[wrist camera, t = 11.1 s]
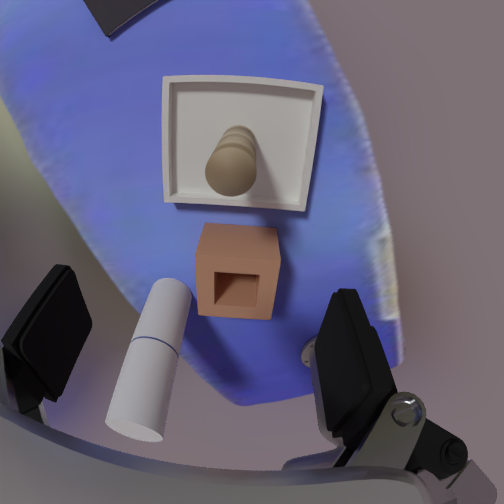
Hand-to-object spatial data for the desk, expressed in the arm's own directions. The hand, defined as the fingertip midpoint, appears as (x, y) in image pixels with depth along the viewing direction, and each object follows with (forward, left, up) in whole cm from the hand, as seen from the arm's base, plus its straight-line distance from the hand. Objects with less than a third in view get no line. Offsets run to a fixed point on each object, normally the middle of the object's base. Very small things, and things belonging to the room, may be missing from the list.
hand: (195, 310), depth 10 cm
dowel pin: (0, 0, -27) cm, 27 cm away
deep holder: (-17, -1, -28) cm, 33 cm away
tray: (0, 0, -28) cm, 28 cm away
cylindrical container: (-26, +10, -29) cm, 40 cm away
